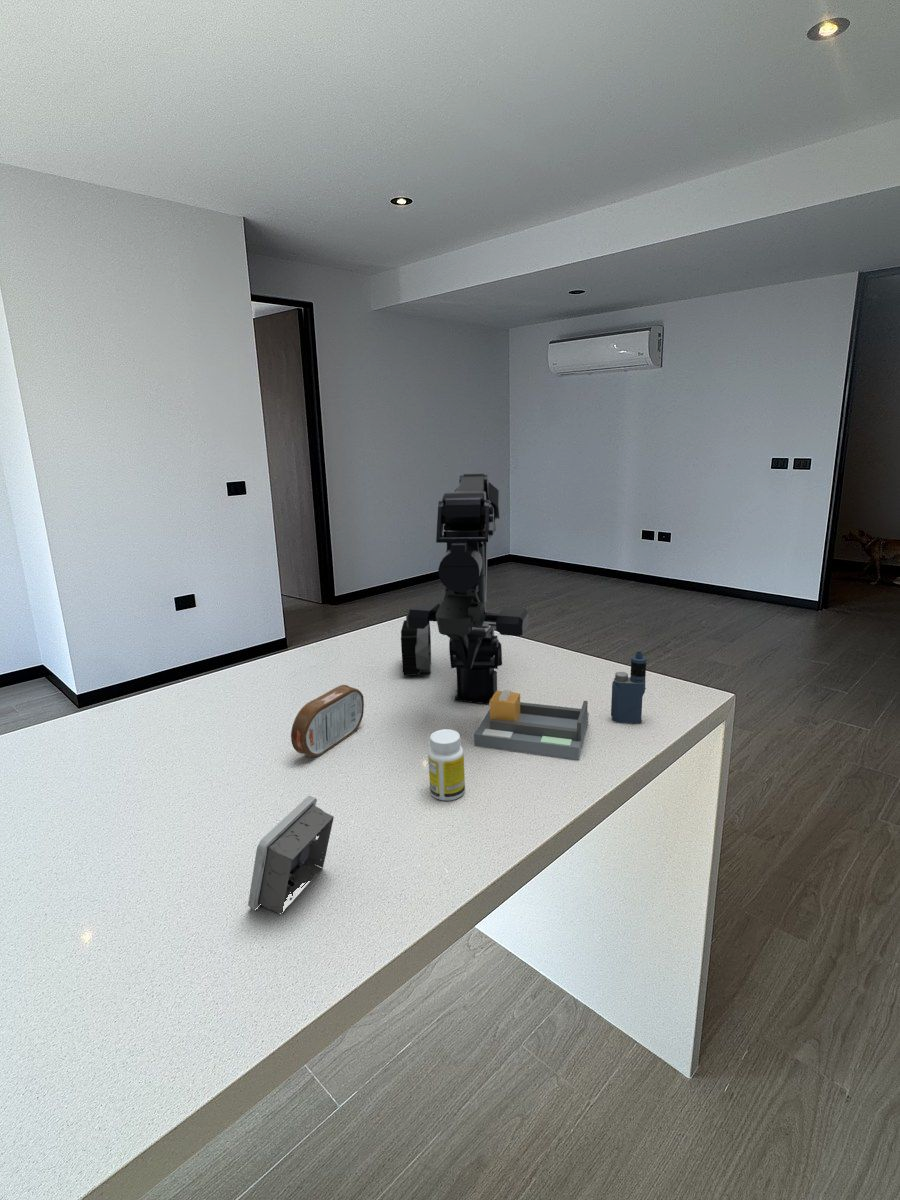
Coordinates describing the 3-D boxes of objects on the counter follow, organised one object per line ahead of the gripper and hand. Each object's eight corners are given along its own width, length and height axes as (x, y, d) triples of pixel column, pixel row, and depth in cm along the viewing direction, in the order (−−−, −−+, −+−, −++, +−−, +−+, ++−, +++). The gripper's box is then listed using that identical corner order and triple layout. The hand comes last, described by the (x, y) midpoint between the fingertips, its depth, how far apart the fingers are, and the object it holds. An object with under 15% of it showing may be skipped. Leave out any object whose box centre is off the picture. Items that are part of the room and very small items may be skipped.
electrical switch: (299, 856, 74) (298, 788, 71) (337, 870, 72) (337, 801, 69) (246, 912, 66) (242, 838, 63) (288, 929, 64) (285, 854, 61)
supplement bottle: (469, 785, 87) (467, 730, 85) (458, 804, 83) (456, 746, 81) (436, 780, 89) (434, 725, 86) (424, 798, 84) (422, 742, 82)
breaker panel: (474, 746, 98) (473, 716, 96) (494, 712, 108) (493, 686, 107) (578, 760, 92) (579, 729, 91) (588, 723, 103) (589, 695, 102)
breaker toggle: (490, 723, 100) (489, 697, 99) (496, 712, 104) (496, 687, 103) (514, 726, 99) (514, 699, 98) (520, 715, 103) (520, 689, 101)
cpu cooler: (430, 680, 123) (428, 631, 121) (401, 680, 123) (398, 631, 121) (432, 660, 133) (430, 615, 131) (405, 661, 133) (403, 616, 131)
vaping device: (644, 724, 103) (648, 655, 99) (611, 722, 104) (613, 654, 100) (642, 717, 105) (646, 650, 102) (610, 715, 106) (613, 648, 103)
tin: (354, 722, 107) (350, 676, 105) (369, 726, 105) (365, 679, 103) (291, 763, 94) (286, 712, 92) (307, 768, 93) (302, 716, 91)
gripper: (389, 584, 92) (395, 682, 97) (513, 591, 87) (514, 695, 91) (417, 567, 103) (421, 657, 107) (530, 572, 97) (529, 667, 101)
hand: (468, 668), depth 101 cm, fingers closed
